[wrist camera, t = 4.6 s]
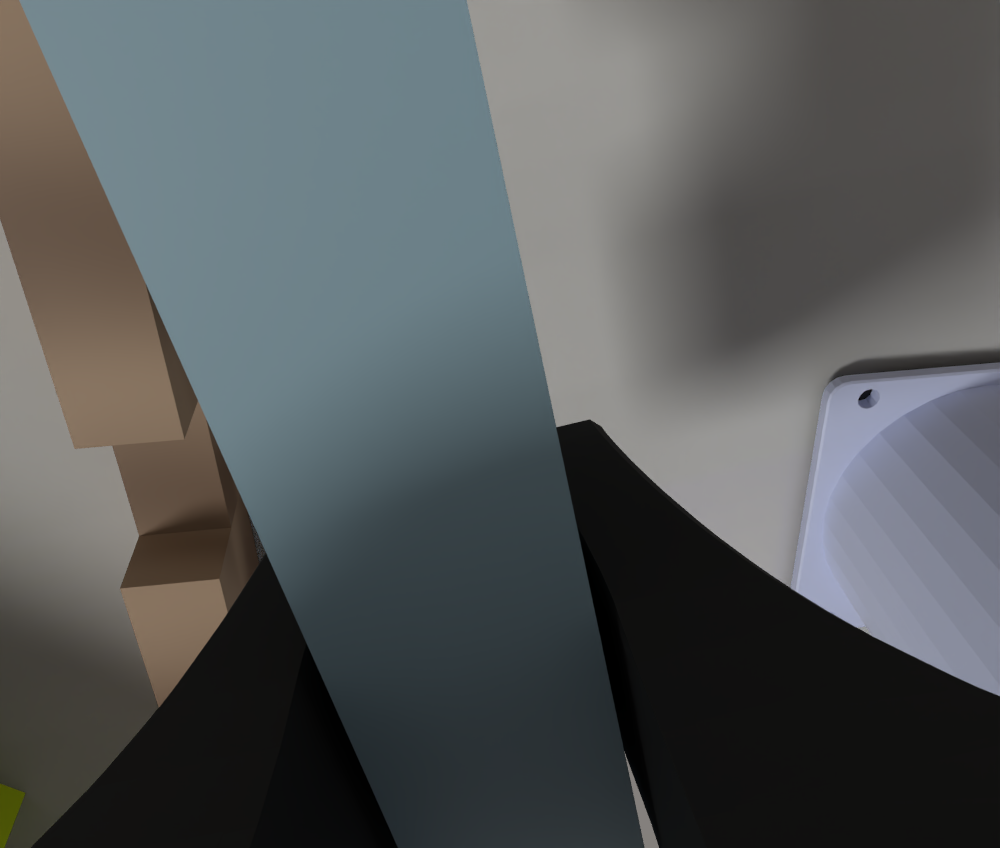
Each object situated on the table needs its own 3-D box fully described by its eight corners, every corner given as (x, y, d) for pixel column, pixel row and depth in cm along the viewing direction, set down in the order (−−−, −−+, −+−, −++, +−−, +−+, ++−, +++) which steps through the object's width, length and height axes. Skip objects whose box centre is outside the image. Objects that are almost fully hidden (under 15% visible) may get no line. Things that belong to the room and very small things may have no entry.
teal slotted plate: (212, -179, 11) (-97, -252, 4) (382, -221, 11) (387, -375, 4) (478, 669, 18) (540, 1164, 11) (579, 645, 18) (703, 1127, 11)
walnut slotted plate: (1, -67, 16) (-88, -53, 13) (119, -73, 16) (59, -59, 13) (222, 730, 26) (202, 841, 23) (294, 723, 26) (282, 831, 23)
